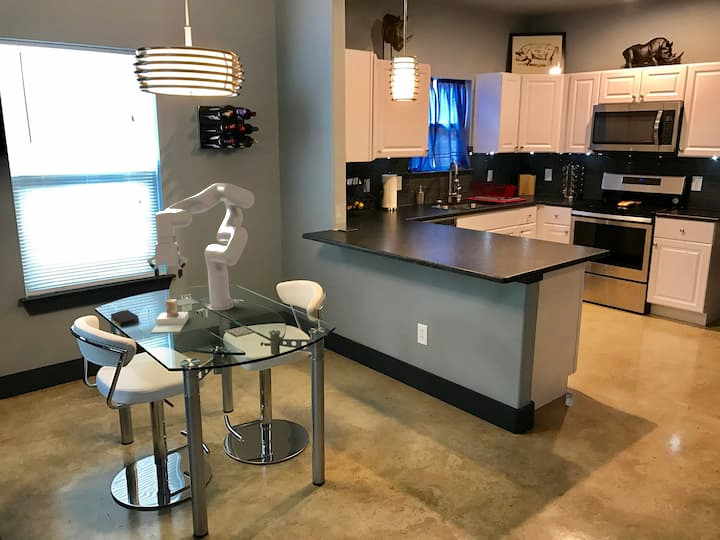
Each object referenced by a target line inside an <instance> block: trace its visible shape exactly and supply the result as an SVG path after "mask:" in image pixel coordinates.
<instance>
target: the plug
mask: <svg viewBox="0 0 720 540" xmlns="http://www.w3.org/2000/svg"><path fill="white" fill-rule="evenodd" d="M165 307H166V308H165V310H166V312H167V317H177V316H178V312H179V310H178V300H177V298H176V299H175V298H173V299H172V298H171V299H167V300H166V301H165Z"/></svg>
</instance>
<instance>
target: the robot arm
mask: <svg viewBox="0 0 720 540" xmlns="http://www.w3.org/2000/svg"><path fill="white" fill-rule="evenodd" d="M221 202H223V203H224V206H225V209H226V210H225V211H226V213H225V216H224V219H223V221H222V223H221V225H220V227H219V229H218V230H217V233H216V240H217V241H218V242H219V243H220V244H219V243H213V244H209V245H207V246H206V248H205V250H204V258H205V259H204V260H205V264H206V268H207V277H208V278H207V279H208V294H209V303H208V304H207V305H206V309H207V310H211V311H226V310H227V311H228V310H230V309H232V308H233V307H234V305H239V302H240V300H239V299H236V298H235V299H233V298H231V297H232V296H230V287H229V286H230V285H229V271H228V266H229V267H232V266H234V265H236V264H237V262H238V261H239V259H240V258H241V255H242V254H243V251H244V249H245V248H246V245H247V243H248V237H249V235H248V234H249V233H248V231H247V230H246V229H245V227H242V224H243V221H244V217H243V212H242V209H249V208H251V207H252V206H253V205H254V204H255V195H254V193H253V192H252V191H251V190H248V189H245V188H243V187H240V186H237V185H235V184H232V183H228V182H227V183H225V182H224V183H223V182H217V183H213V184H211V185H210V186H209V187H207V188H206V189H204V190H202V191H201V192H198V193H197V194H196V195H193V196H190V197H188V198H185V199H182V200H180V201H177V202H175V203H173V204H172V205H170V206H169V207H167V208H166V209H165V210H164V211H163V210H162V211H157V212H156V213H155V216H154V217H155V226H156V227H155V229H156V243H155V248H154V256H152V257H150V258H148V259H147V261H146V262H147V263H148V265H149V266H150V268H152V269H153V271H154V277H155V278H156V280H157V279H159V278H160V269H159V266H161V267H163V266H164V267H165V266H166V267H167V266H172V267H173V266H176V267H177V268H178V269H177V275H178V277H177V278H178V279H181V278H182V277H183V268H184V267H185V266H187V262H188V261H189V258H187V257H185V256H184V255H181V254H180V248H179V244H178V242H177V241H179V240H180V239H179V237H178V236H176V233H175V232H176V231H175V228H184V227H188V226H190V224H192V222H193V215H194V214H201V213H204V212H208V211H209V210H211V209H212V208H214V206H216V205H218V204H219V203H221ZM153 261H154V263H155V264H154V263H153ZM181 261H183V262H182V264H181Z"/></svg>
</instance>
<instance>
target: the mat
mask: <svg viewBox="0 0 720 540" xmlns="http://www.w3.org/2000/svg"><path fill="white" fill-rule="evenodd" d="M184 327H185V325H184V324H181V325H157V324H156V325H154V328H153V329H152V330H151V332H150V334H168V333H171V334H173V333H181V331H182V330H183V328H184Z"/></svg>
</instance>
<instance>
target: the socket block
mask: <svg viewBox="0 0 720 540" xmlns="http://www.w3.org/2000/svg"><path fill="white" fill-rule="evenodd" d="M189 316H190V315H189V311H178V316H177V317H167V311H166V312H164V311H163V312H161V313H160V314H159V315H158V316H157V317H156V319H155V321H156V325H181V324H184V326H185V324H186V323H187V322H188V320H189Z"/></svg>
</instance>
